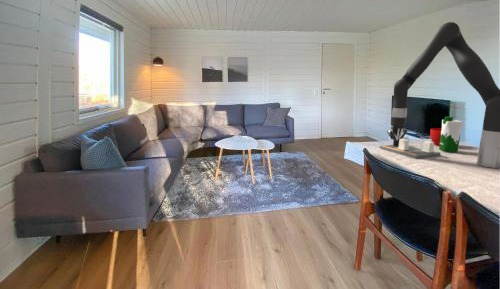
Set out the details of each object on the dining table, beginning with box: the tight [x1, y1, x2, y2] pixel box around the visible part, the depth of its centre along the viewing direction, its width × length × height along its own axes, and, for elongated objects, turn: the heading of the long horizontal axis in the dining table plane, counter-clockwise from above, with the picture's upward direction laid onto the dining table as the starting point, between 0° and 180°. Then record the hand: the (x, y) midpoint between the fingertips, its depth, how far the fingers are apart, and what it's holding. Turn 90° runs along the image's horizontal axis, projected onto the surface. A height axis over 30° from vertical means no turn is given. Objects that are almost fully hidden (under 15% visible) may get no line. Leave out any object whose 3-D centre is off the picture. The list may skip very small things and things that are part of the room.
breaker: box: [422, 140, 435, 153], centre depth 162 cm, size 4×4×6 cm
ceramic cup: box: [429, 127, 442, 147], centre depth 185 cm, size 13×17×10 cm
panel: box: [379, 144, 442, 160], centre depth 170 cm, size 26×18×2 cm
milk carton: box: [438, 116, 464, 154], centre depth 169 cm, size 9×9×20 cm
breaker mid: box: [398, 139, 410, 150], centre depth 168 cm, size 4×4×6 cm
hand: (395, 146), depth 166 cm, fingers closed
